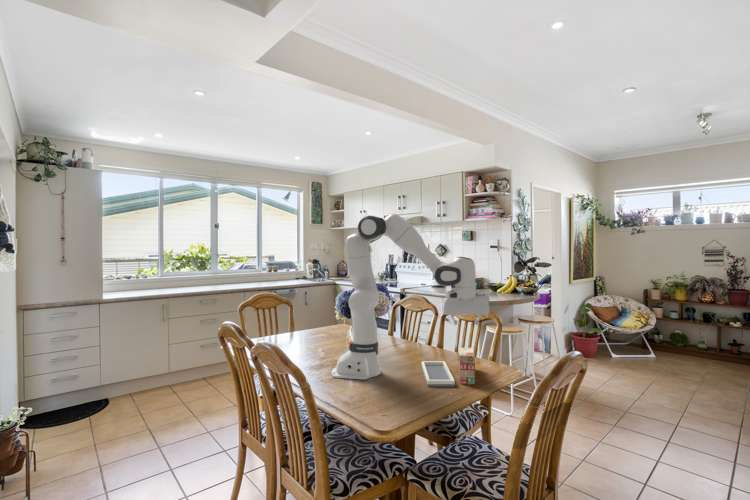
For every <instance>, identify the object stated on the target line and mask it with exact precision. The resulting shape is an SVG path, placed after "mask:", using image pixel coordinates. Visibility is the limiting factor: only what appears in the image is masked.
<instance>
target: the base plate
mask: <svg viewBox="0 0 750 500" xmlns="http://www.w3.org/2000/svg"><path fill="white" fill-rule="evenodd" d="M421 369H422V373H423V376H424V379H425V383H426V385H427V387H435V388H436V387H437V388H438V387H439V388H441V387H442V388H444V387H445V388H448V387H450V388H454V387H456V385H455V382H456V381H455V380H456V379H454V377H453V374H452V372H451V371H450V368H449V366H448V365H447V363H446V361H444V360H441V361H440V360H439V361H437V360H436V361H435V360H434V361H433V360H432V361H431V360H430V361H427V360H423V361H421Z"/></svg>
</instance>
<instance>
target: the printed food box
mask: <svg viewBox="0 0 750 500" xmlns="http://www.w3.org/2000/svg"><path fill="white" fill-rule="evenodd" d="M457 355H458V376H459V385H471V384H474V385H473V386H475V385H476V384H475V383H476V381H475V380H476V377H475V376H476V372H475V370H476V355H475V351H474V349H473V347H460V346H459V347H458V349H457Z"/></svg>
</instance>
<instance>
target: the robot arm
mask: <svg viewBox="0 0 750 500" xmlns="http://www.w3.org/2000/svg"><path fill="white" fill-rule="evenodd" d="M383 236H385V237H387V238H388V239H390V240H391V241H392V242H393V243H394V244H395V245H396V246H397V247H398V248H399V249H401V250H403V251H404V252H405V253H407V254H409V255H412V256H414V257H415V258H417V259H419V260H420V261H421V262H422V263H423V264H424V265H425V266H426V267H427V268H428V269H429V270H430V271H431V274H432V275H433V276H432V277H434V280H435V282H436V283H437V284H438V285H440V286H442V287H449V286H452V285H453V286H455V287H454V289H450V290H449V291H446V292H445V293H444V296H445V298H444V299H443V302H442V313H443V314H444V315H446V316H448V315H449V316H450V318H451V319H452V321H453V325H454V326H458V320H456V319H455V315H456V316H458V315H460V316H461V315H464V316H465V315H467V316H468V315H469V316H470V315H476V317H477V318H476V319H474V325H480V320H481V318H482V315H488V314H490V304H489V303H490V295H488V294H487V293H485V292H484V293H483V292H481V293H480V292H476V291H477V288H476V287H477V285H476V283H475V281H476V278H477V277H476V264H475V261H474V260H473V259H472V258H470V257H464V256H456V257H455V258H454V259H452V260H450V261H449V262H444V261H442V260H441V259H439V258H438V257H437V256H436V255H435V254H434V253H433V252H432V251H430V249H429V248H428V247H427V246H426V244H425V242H424V239H423V238H422V236H421V234H420V233H419V232H418V230H417V229H416V228H415V227H414V226H413V225H412V224H411V223H410V222H408V220H406V219H405V218H403V217H402V216H400V215H399V214H397V213H390V214H388V215H387V216H386V217H385V218H383V217H379V216H375V215H365V216H363V217H362V218H361V219H360V220H359V222H358V224H357V232H356V233H352V234H349V236H347V237H346V239H345V245H344V247H345V260H346V265H347V266H346V267H347V273H348V278H349V279H350V281H351V284H352V287H353V292H352V293H351V294H350V296H349V297H348V300H347V301H348V303H347V304H348V307H349V309H350V316H351V321H352V340H349V341H348V350H347V351H345V353H343V354H342V355H341V356H340V357H338V359H337V362H336V365H335V367H334V368H332V370H331V376H332V377H333V378H337V379H353V380H363V381H364V380H368V379H371V378H373V377H377V376H379V375H381V373H382V371H381V366H380V362H379V351H380V350H379V341H378V323H377V321H376V313H375V308H376V307H377V306H378V304H379V301H380V296H381V295H380V293H379V290H378V286H377V282H376V279H375V276H374V272H373V266H372V260H371V253H370V244H372V243H374V242H376V241H378V240H380V239H381V238H382V237H383Z"/></svg>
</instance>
